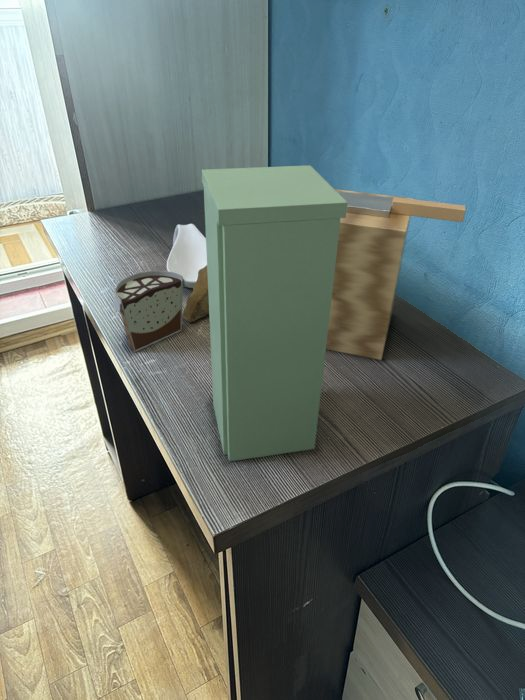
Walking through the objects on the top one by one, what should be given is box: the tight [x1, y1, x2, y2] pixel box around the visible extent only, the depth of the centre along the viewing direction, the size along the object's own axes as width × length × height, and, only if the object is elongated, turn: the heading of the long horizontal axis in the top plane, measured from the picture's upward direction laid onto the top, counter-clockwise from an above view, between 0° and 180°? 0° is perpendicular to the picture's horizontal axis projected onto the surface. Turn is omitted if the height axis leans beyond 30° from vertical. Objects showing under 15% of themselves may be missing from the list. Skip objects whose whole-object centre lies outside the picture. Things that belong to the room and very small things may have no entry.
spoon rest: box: [166, 223, 207, 289], centre depth 104 cm, size 24×12×7 cm, turn 17°
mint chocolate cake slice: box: [113, 270, 186, 353], centre depth 84 cm, size 12×6×10 cm, turn 134°
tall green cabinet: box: [201, 164, 347, 462], centre depth 60 cm, size 12×12×32 cm
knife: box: [337, 191, 467, 223], centre depth 75 cm, size 23×6×2 cm, turn 72°
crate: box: [326, 188, 414, 361], centre depth 83 cm, size 16×14×22 cm
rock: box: [182, 265, 209, 323], centre depth 92 cm, size 11×9×10 cm
